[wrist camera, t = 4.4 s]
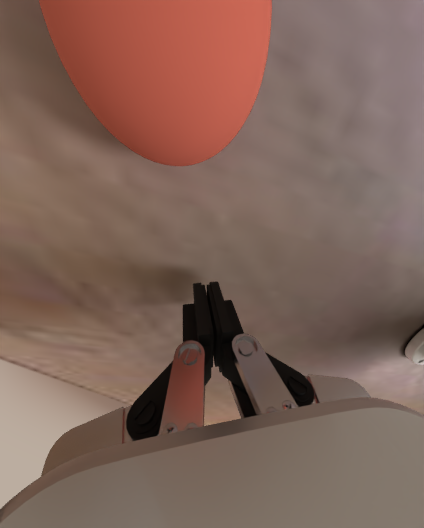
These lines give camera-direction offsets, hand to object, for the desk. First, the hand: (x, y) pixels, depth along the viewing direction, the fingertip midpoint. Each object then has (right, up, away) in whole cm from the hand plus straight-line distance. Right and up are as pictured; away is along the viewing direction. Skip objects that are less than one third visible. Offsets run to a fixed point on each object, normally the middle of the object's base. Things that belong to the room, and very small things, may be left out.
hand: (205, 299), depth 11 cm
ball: (-1, +9, -7) cm, 11 cm away
